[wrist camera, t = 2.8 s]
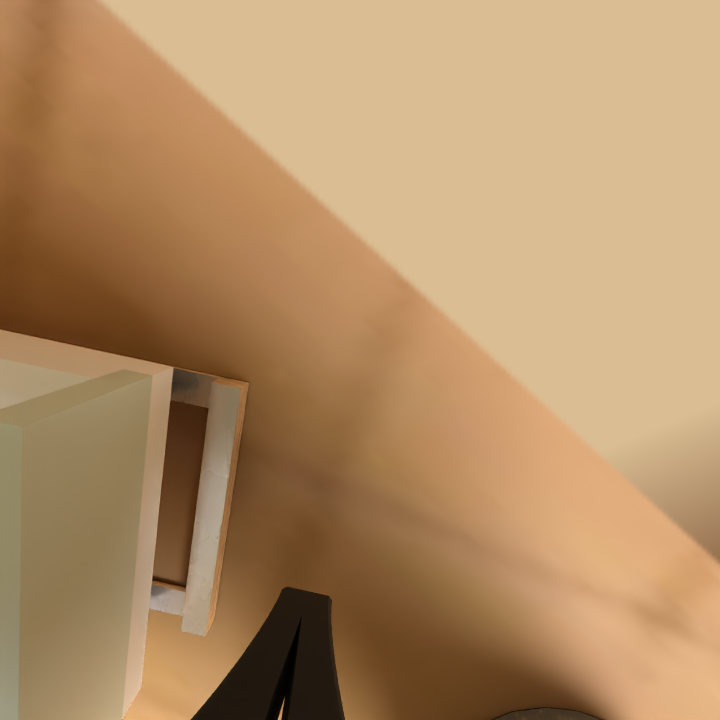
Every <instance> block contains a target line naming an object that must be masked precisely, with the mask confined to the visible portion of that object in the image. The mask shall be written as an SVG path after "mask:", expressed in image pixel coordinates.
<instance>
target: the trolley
mask: <svg viewBox="0 0 720 720" xmlns="http://www.w3.org/2000/svg"><path fill="white" fill-rule="evenodd" d="M172 377H173V367H171V366H166V365H161V364H157V363H152V362H147V361H143V360H138V359H133V358H129V357H124V356H119V355H115V354H110V353H106V352H101V351H96V350H92V349H87V348H82V347H78V346H73V345H68V344H64V343H59V342H54V341H50V340H45V339H40V338H36V337H31V336H26V335H22V334H17V333H12V332H8V331H3V330H0V720H122V719H123V717H124V715H125V714H126V712H127V710H128V709H129V707H130V705H131V704H132V702H133V700H134V698H135V697H136V695H137V693H138V692H139V690H140V688H141V684H142V674H143V665H144V655H145V645H146V635H147V625H148V615H149V605H150V595H151V585H152V575H153V566H154V556H155V546H156V536H157V526H158V516H159V506H160V496H161V486H162V476H163V466H164V457H165V447H166V437H167V427H168V417H169V407H170V397H171V387H172Z"/></svg>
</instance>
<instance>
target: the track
mask: <svg viewBox="0 0 720 720" xmlns="http://www.w3.org/2000/svg"><path fill="white" fill-rule="evenodd" d="M0 330H3V329H0ZM3 331H7V330H3ZM8 332H12V331H8ZM12 333H16V332H12ZM17 334H21V333H17ZM22 335H26V334H22ZM26 336H30V335H26ZM31 337H35V336H31ZM36 338H40V337H36ZM40 339H44V338H40ZM45 340H49V339H45ZM50 341H54V340H50ZM54 342H58V341H54ZM59 343H63V342H59ZM64 344H68V343H64ZM68 345H72V344H68ZM73 346H77V345H73ZM78 347H82V346H78ZM82 348H86V347H82ZM87 349H91V348H87ZM92 350H96V349H92ZM96 351H100V350H96ZM101 352H105V351H101ZM106 353H109V352H106ZM110 354H114V353H110ZM115 355H119V354H115ZM119 356H123V355H119ZM124 357H128V356H124ZM129 358H133V357H129ZM133 359H137V358H133ZM138 360H142V359H138ZM143 361H147V360H143ZM147 362H151V361H147ZM152 363H156V362H152ZM157 364H161V363H157ZM161 365H165V364H161ZM166 366H170V365H166ZM171 367H173V377H172V387H171V397H170V400H173V401H178V402H182V403H187V404H191V405H196V406H201V407H205V408H209V410H208V418H207V426H206V434H205V442H204V450H203V458H202V466H201V474H200V482H199V490H198V498H197V506H196V514H195V522H194V530H193V538H192V546H191V554H190V562H189V570H188V578H187V586H186V588H185V587H181V586H176V585H172V584H167V583H163V582H158V581H154V580H152V585H151V595H150V605H149V609H152V610H157V611H161V612H166V613H170V614H175V615H179V616H183V618H182V626H181V631H183V632H187V633H192V634H196V635H201V636H205V637H206V635H207V633H208V631H209V629H210V627H211V625H212V623H213V621H214V618H215V611H216V605H217V598H218V591H219V584H220V577H221V571H222V564H223V557H224V550H225V543H226V537H227V530H228V523H229V516H230V509H231V503H232V496H233V489H234V482H235V475H236V469H237V462H238V455H239V448H240V441H241V435H242V428H243V421H244V414H245V407H246V401H247V394H248V387H249V382H244V381H240V380H235V379H230V378H226V377H221V376H216V375H212V374H207V373H203V372H198V371H193V370H189V369H184V368H179V367H175V366H171Z"/></svg>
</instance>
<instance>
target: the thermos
mask: <svg viewBox="0 0 720 720" xmlns="http://www.w3.org/2000/svg"><path fill="white" fill-rule="evenodd" d="M494 720H600V719H597V718H595V717H592V716H590V715H587V714H584V713H582V712H579V711H571V710H562V709H553V708H540V709H532V710H524V711H516V712H512V713H509V714H507V715H504V716H502V717H499V718H497V719H494Z"/></svg>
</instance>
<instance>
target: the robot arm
mask: <svg viewBox="0 0 720 720" xmlns="http://www.w3.org/2000/svg"><path fill="white" fill-rule="evenodd" d="M331 604H332V600H331V598H330V597H329V596H326V595H322V594H317V593H313V592H308V591H304V590H300V589H295V588H291V587H286V588H284V589H282V591H281V594H280V596H279V598H278V600H277V602H276V604H275V605H274V607H273V609H272V611H271V612H270V614H269V616H268V617H267V619H266V621H265V622H264V624H263V625H262V627H261V629H260V630H259V632H258V633H257V634H256V636H255V637H254V639H253V640H252V642H251V643H250V645H249V646H248V648H247V649H246V650H245V652H244V653H243V655H242V656H241V658H240V659H239V660H238V662H237V663H236V664H235V666H234V667H233V668H232V669H231V671H230V672H229V673H228V675H227V676H226V677H225V679H224V680H223V681H222V682H221V684H220V685H219V686H218V688H217V689H216V690H215V691H214V693H213V694H212V695H211V696H210V698H209V699H208V700H207V701H206V702H205V704H204V705H203V706H202V707H201V708H200V710H199V711H198V712H197V713H196V714H195V715H194V717H193V718H192V719H191V720H278V717H279V713H280V710H281V707H282V704H283V700H284V697H285V700H284V706H283V713H282V719H281V720H345V717H344V712H343V707H342V702H341V697H340V691H339V685H338V678H337V672H336V665H335V658H334V649H333V639H332V625H331Z"/></svg>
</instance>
